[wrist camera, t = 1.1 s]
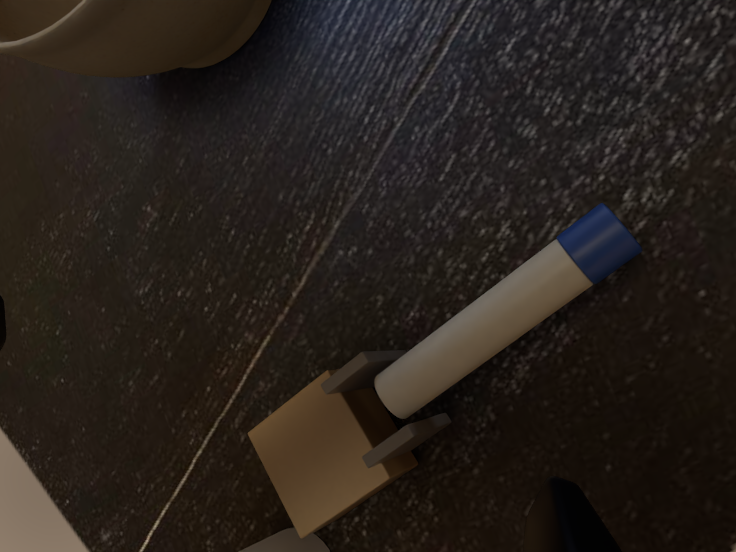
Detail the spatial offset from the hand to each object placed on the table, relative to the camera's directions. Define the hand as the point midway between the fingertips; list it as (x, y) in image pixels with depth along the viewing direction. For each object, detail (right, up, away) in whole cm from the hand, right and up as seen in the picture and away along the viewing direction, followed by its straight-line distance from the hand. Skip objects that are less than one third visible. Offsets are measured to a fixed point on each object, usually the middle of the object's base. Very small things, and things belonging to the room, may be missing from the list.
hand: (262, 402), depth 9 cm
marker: (+7, 0, +13) cm, 15 cm away
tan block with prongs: (+2, -5, +18) cm, 18 cm away
